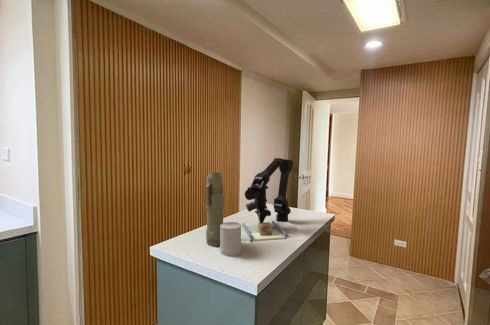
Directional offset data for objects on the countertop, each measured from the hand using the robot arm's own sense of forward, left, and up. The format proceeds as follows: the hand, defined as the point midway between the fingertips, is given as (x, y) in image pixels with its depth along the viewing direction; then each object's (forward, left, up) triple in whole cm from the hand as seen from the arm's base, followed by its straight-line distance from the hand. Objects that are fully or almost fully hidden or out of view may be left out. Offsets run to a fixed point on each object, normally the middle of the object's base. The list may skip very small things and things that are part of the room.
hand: (261, 224), depth 151 cm
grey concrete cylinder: (+21, +26, -4) cm, 34 cm away
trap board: (0, +4, -3) cm, 6 cm away
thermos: (+27, +14, -4) cm, 31 cm away
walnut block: (0, +9, -2) cm, 9 cm away
